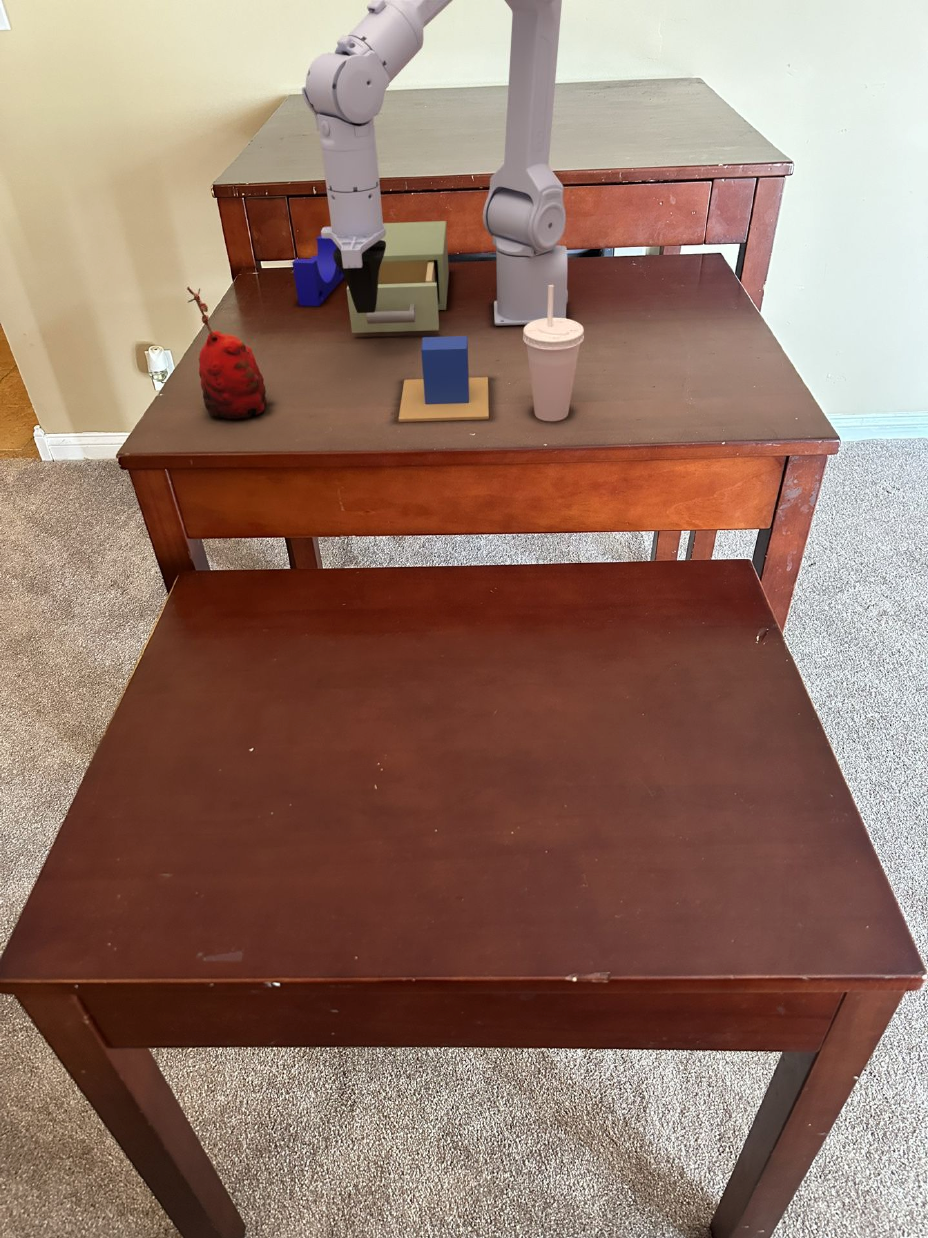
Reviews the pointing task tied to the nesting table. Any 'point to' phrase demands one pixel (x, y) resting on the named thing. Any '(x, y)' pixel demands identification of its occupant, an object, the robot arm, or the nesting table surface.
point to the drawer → (401, 299)
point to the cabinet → (420, 249)
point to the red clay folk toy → (229, 374)
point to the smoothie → (552, 362)
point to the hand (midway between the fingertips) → (366, 310)
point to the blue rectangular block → (445, 369)
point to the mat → (419, 411)
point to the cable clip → (317, 274)
